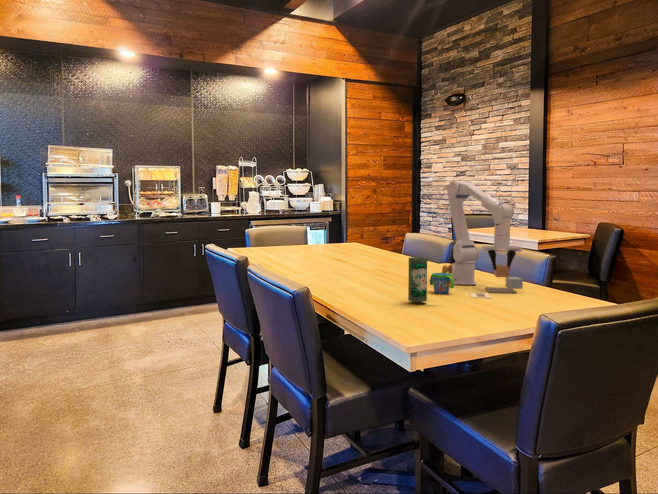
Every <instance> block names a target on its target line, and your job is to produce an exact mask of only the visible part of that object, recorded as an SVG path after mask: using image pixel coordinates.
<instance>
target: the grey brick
mask: <svg viewBox="0 0 658 494" xmlns="http://www.w3.org/2000/svg"><path fill="white" fill-rule="evenodd" d="M523 280H524V279H523V278H521V277H518V276H509V277H505V287H506V288H512V289H513V290H517V289H522V290H523V286H524V281H523Z"/></svg>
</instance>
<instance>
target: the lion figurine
mask: <svg viewBox="0 0 658 494" xmlns="http://www.w3.org/2000/svg"><path fill="white" fill-rule="evenodd" d="M441 269H442V270H441V273H444V272H446V273H450V274H452V263H451V264H449V265H446V264H444V265H443V266H442V268H441Z"/></svg>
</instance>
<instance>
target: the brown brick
mask: <svg viewBox="0 0 658 494" xmlns="http://www.w3.org/2000/svg"><path fill="white" fill-rule="evenodd" d="M493 275H494V276H495V277H496V278H506V277H510V270H509V267H508V266H507V264H496V270H493Z"/></svg>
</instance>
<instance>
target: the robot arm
mask: <svg viewBox="0 0 658 494" xmlns="http://www.w3.org/2000/svg"><path fill="white" fill-rule="evenodd" d="M446 192H447V196H448V204H449V210H450V211H449V212H450V215H451V219H452V225H453V229H454V234H455V238H456V242H455V243H454V245H453V246H452V248H453V249H452V250H453V253H452V256H453V259H454V261H455V262H451V264H452V273H451V274H452V278H453V281H454V285H468V286H469V285H471V286H473V285H474V286H476V285H477V283H476V281H475V272H476V271H475V267H476V266H475V265H476V263H477V261H478V259H479V257H480V251H479V249H478V248H477V246H476V243H475V242H474V241H473V240H472V239H471V238H470V234H469V228H468V224H467V220H466V215H465V210H464V206H463V204H464V202H466V201H467V200H468V199H469V198H470V197H473V198H475V199H476V200H478V201H479V202H480V204H481V206H482V208H484V209H485V210H487V211H488V212H490V213H491V216H492V218H493V223H494V235H493V237H494V238H493V245H486V246H485V245H483V246H482V249H481V251H482V252H487V254H488V256H489V257H490V258H489V259H490V260H491V264H492V269H493V271H494V270H496V265H497V262H496V261H497V253H496V252H506V259H507V260H506V265H507V266H508V267H509V271H510V269H511V265H512V263H513V260H514V258H515V256H516V254H517V253H516V252H519V253H522V251H523V250H522V249H523V247H522V246H516V245H515V246H510V243H511V241H510V240H511V219H512V217H514V213H515V209H514V207H513V206H512V205H511V204H509V203H504V201H503V200H500V199H498V198H497V197H496V195H495V194H487V193H485V192H483V190H481V189H480V188H479V187H477V186H476V184H475V182H473V181H471V180H455V179H454V180H453V179H452V180H451V181H450V182H449V183H448V185H447V188H446Z"/></svg>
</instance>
